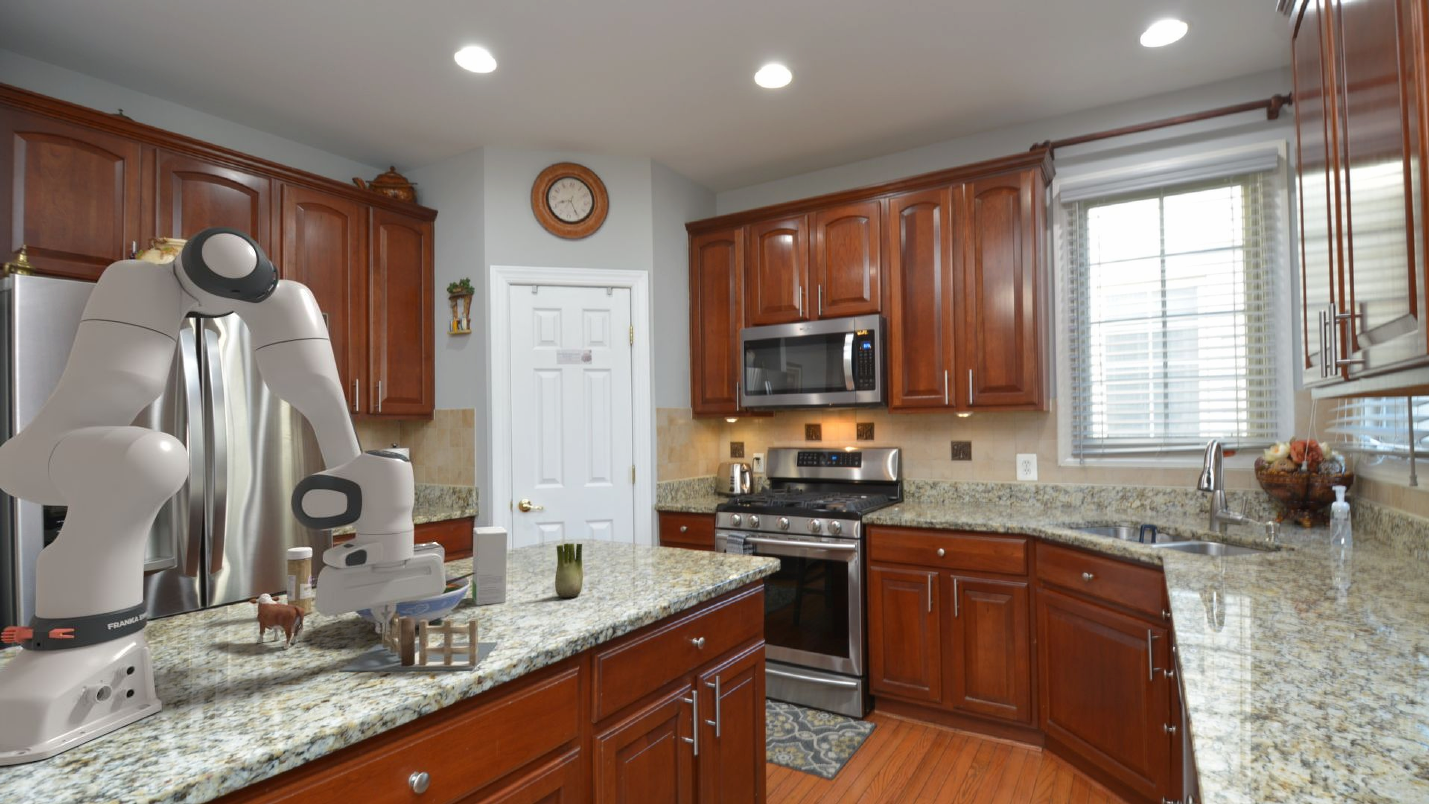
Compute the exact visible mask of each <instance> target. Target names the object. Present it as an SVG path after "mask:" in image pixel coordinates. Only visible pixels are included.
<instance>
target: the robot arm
mask: <svg viewBox="0 0 1429 804" xmlns="http://www.w3.org/2000/svg"><path fill="white" fill-rule="evenodd" d="M265 253H266V252H265V251H264V250H263V249H262V247H261V246H260V245H259V244H258V242H257V241H256V240H254V238H252V237H251V236H250V235H249V234H247V233H245V232H244V231H242V230H239V229H237V228H234V227H230V226H215V227H213V226H212V227H208V228H205V229H202V230H200V231H198V232H197V233H195V234H193V235H192V236H191V237H189V239H188V240H186V242H185V243H184V245H183V247H182V249H181V250H180V251H179V252H178V254H176V256H175V257H174V259H173V260H172V261H170V262H168V263H155V262H151V261H148V260H143V259H142V260H141V259H123V260H118V261H115V262H113V263H111V264H109V266H107V267H106V268H105V270H103V272H102V274H101V276H100V277H99V279H98V281H97V283H96V285H95V286H94V288H93V289H92V291H91V294H90V295H89V298H88V300H87V302H86V305H85V308H84V310H83V312H82V316H81V319H80V321H79V325H78V329H77V331H76V335H75V339H74V341H73V345H72V346H71V347H72V348H71V351H70V354H69V356H68V360H67V363H66V365H65V369H64V370H63V373H62V376H61V377H60V379H59V381H58V383H57V385H56V386H55V388H54V390H53V391H52V393H51V394H50V396H49V397H48V399H47V400H46V401H45V403H44V404H43V405H42V407H41V408H40V410H38V412H37V413H36V415H35V417H33V418H32V420H31V421H30V422H29V423H28V424H27V425H26V426H25V427H24V428H23V429H22V430H21V431H20V432H18V433H17V434H15V435H14V436H13V437H11V438H9V439H8V440H7V441H5V442H4V443H3V444H2V445H1V446H0V489H1V490H2V491H3V492H4V493H6V494H8V495H10V496H12V497H14V498H16V499H19V500H23V501H26V502H30V503H32V504H33V503H34V504H37V505H41V506H53V507H54V506H56V507H57V506H58V507H59V506H62V507H64V506H65V507H67V511H66V516H65V518H64V521H63V523H62V527H61V528H60V530H59V531H60V532H59V533H58V535H57V536H56V538H55V539H54V540H53V541H52V542H51V543H50V544H48V545H47V546H46V547H45V548H43V549H42V550H41V552H40V553H39V554H38V555H37V559H36V563H35V567H36V569H35V613H34V614H33V615H32V616H31V617H30V620H29V623H28V624H27V626H24V625H23V626H15V625H11V626H7V627H5V628H4V629H3V632H1V636H0V638H1V641H3V643H4V644H10V643H18V644H19V643H20V647H21V650H20V651H19V652H18V653H17V654H16V655H15V656H14V657H13V658H12V659H11V660H9V662H8V663H7V664H5V666H3V668H2V669H1V670H0V766H8V765H9V766H10V765H16V764H22V763H30V762H34V761H40V760H44V759H49V758H51V757H53V756H56V755H58V754H62V753H63V752H65V751H67V750H70V749H73V748H75V747H77V746H80V745H82V744H84V743H87V742H89V741H91V740H93V739H96V738H99V737H101V736H103V735H106V734H108V733H110V732H113V731H115V730H118V729H120V728H123V727H124V726H127V725H130V724H131V723H134V722H137V721H138V720H141V719H143V718H144V719H145V718H146V717H148V716H151V715H153V714H155V713H158V712H160V711H161V710H162V709H163V705H162V704H163V703H162V700H161V699H159V698H158V696H157V693H156V686H155V677H154V667H153V659H152V651H151V649H150V647H149V644H148V643H147V641H146V640H147V639H146V637H145V632H144V629H145V627H146V626H147V625H148V615H149V610H148V607H147V605H148V604H147V600H145V599H144V569H145V555H146V547H147V546H146V545H147V541H148V538H149V535H150V532H151V529H152V526H153V524H154V522H155V520H156V517H157V516H158V514H159V512H160V510H161V508H163V506H164V505H165V503H166V502H167V501H168V500H169V499H170V498H171V497H172V496H174V495H175V494H176V493H178V491H179V490H181V488H182V487H183V486H184V484H185V483H186V480H187V478H188V475H189V471H190V458H189V457H190V456H189V454H188V451H187V449H186V447H185V445H184V444H183V443H182V442H181V440H179V439H178V438H177V437H175V436H174V435H172V434H170V433H167V432H162V431H160V430H155V429H152V428H147V427H142V426H136V425H131V424H132V423H133V422H134V421H135V420H136V417H138V415H139V414H140V413H141V412H142V411H143V410H144V409H145V408H146V407H148V406H149V405H150V404H152V403H154V402H155V401H157V400H158V399H159V398H160V397H161V395H163V393H164V391H165V389H166V385H167V382H168V378H169V374H170V369H171V367H172V362H173V359H174V355H175V351H176V347H177V344H178V340H179V334H180V330H181V327H182V324H183V321H184V319H219V318H224V317H228V316H230V315H232V314H235V315H237V316H238V317H239V318H240V319H241V320H242V321H243V323H244V324H245V325H246V328H247V330H248V332H249V333H250V336H251V342H252V347H253V352H254V356H255V361H256V365H257V368H258V370H259V373H260V376H261V377H262V379H263V381H264V384H265V385H266V387H267V389H268V390H269V392H270V393H272V394H273V395H274V396H275V397H276V398H278V399H280V400H282V401H283V402H286V404H289V405H291V406H292V407H293V408H294V409H296V410H298V411H299V412H300V413H301V414H302V415H303V416H304V417H305V419H307V420H308V422H309V423H310V425H311V426H312V429H313V431H314V434H315V437H316V441H317V443H318V447H319V450H320V453H321V456H322V459H323V462H324V466H325V470H322V471H318V472H316V473H313V474H310V475H308V476H306V477H305V478H303V479H302V480H300V481H299V482H298V483H297V485H295V488H294V489H293V490H292V495H291V499H290V502H291V503H290V506H291V511H292V514H293V515H294V518H295V519H296V520H297V521H298V522H299V524H300V525H302V526H303V527H305V528H307V529H309V530H316V531H330V530H334V529H338V528H342V527H346V526H353V527H354V528H355V537H354V538H352V539H350V540H347V541H345V542H342V543H341V544H338V545H335V546H334V547H331V548H328V549H326V550H325V551H324V552H323V554H322V561H323V563H325V564H326V565H325V566H324V567H323V568H322V569H321V570H320V572H319V574H318V577H317V582H316V588H315V598H314V599H315V600H314V602H315V603H314V606H315V609H316V611H317V612H318V613H319V614H321V615H322V616H325V617H332V616H338V615H342V614H349V613H353V612H355V611H360V610H365V609H370V608H371V613H372V614H373V616H374V617H375V619H376V620H377V621H376V623H374V624H375V633H376V634H377V633H378V634H379V635H380V634H382V633H385V632H389V631H391V627H390V626H391V621H390V620H391V618H392V616H393V615H394V613H395V611H396V603H402V602H407V601H412V600H418V599H423V598H428V597H433V596H439V595H441V594H442V593H443V592H444V590H445V588H446V580H445V574H446V571H445V565H444V562H445V548H444V547H443V546H442V545H441V544H440V543H437V542H436V541H430V542H426V543H425V542H424V543H415V524H414V521H413V518H412V516H413V510H414V506H415V479H414V478H415V477H414V470H413V465H412V462H411V460H410V459H409V458H408V457H407V456H406V455H404V454H402V453H399V452H394V451H390V450H389V451H388V450H379V449H369V450H363V448H362V445H361V442H360V438H359V435H358V433H357V430H356V426H355V422H354V419H353V415H352V414H351V413H352V412H351V411H350V408H349V405H348V402H347V399H346V396H345V393H344V389H343V385H342V383H341V381H340V376H339V372H338V369H337V364H336V363H337V362H336V360H335V359H336V358H335V356H334V350H333V347H332V343H331V339H330V335H329V331H328V328H327V326H326V323H325V319H324V316H323V314H322V311H321V308H320V307H319V304H318V302H317V299H316V298H315V295H314V294H313V292H312V291H311V290H310V288H308V286H306V285H305V284H303V283H301V282H299V281H294V280H290V279H280V271H279V269H278V268H277V266H276V265H275V264H274V263H273V262H272V261H271V260H270V259H269V258H268V257H267V255H266V254H265ZM274 274H275V276H274ZM383 612H384V614H383V616H382V614H381V613H383Z"/></svg>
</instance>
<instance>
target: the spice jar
mask: <svg viewBox="0 0 1429 804" xmlns="http://www.w3.org/2000/svg"><path fill="white" fill-rule="evenodd" d="M285 555H286V557H285V558H286V562H287V566H286V567H287V570H286V571H287V574H286V600H287V605H293V606H298V607H300V608H302V609H303V610H304V616H307V615H309V614H311V613H312V612H313V611H312V557H313V548H312V547H308V546H302V547H301V546H300V547H299V546H298V547H293V548H289V549H287V550H286V554H285Z"/></svg>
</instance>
